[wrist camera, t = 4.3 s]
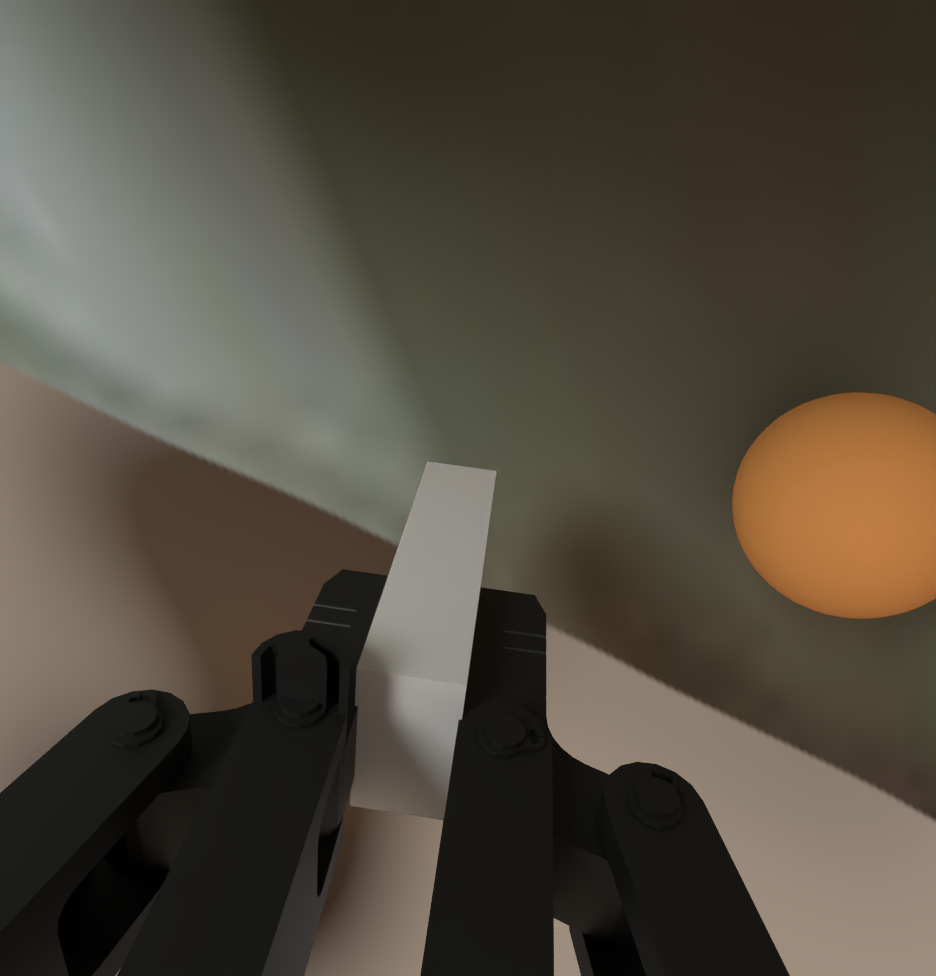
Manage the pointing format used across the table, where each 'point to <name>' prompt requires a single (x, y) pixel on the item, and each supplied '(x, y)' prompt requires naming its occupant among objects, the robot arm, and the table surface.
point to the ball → (843, 505)
